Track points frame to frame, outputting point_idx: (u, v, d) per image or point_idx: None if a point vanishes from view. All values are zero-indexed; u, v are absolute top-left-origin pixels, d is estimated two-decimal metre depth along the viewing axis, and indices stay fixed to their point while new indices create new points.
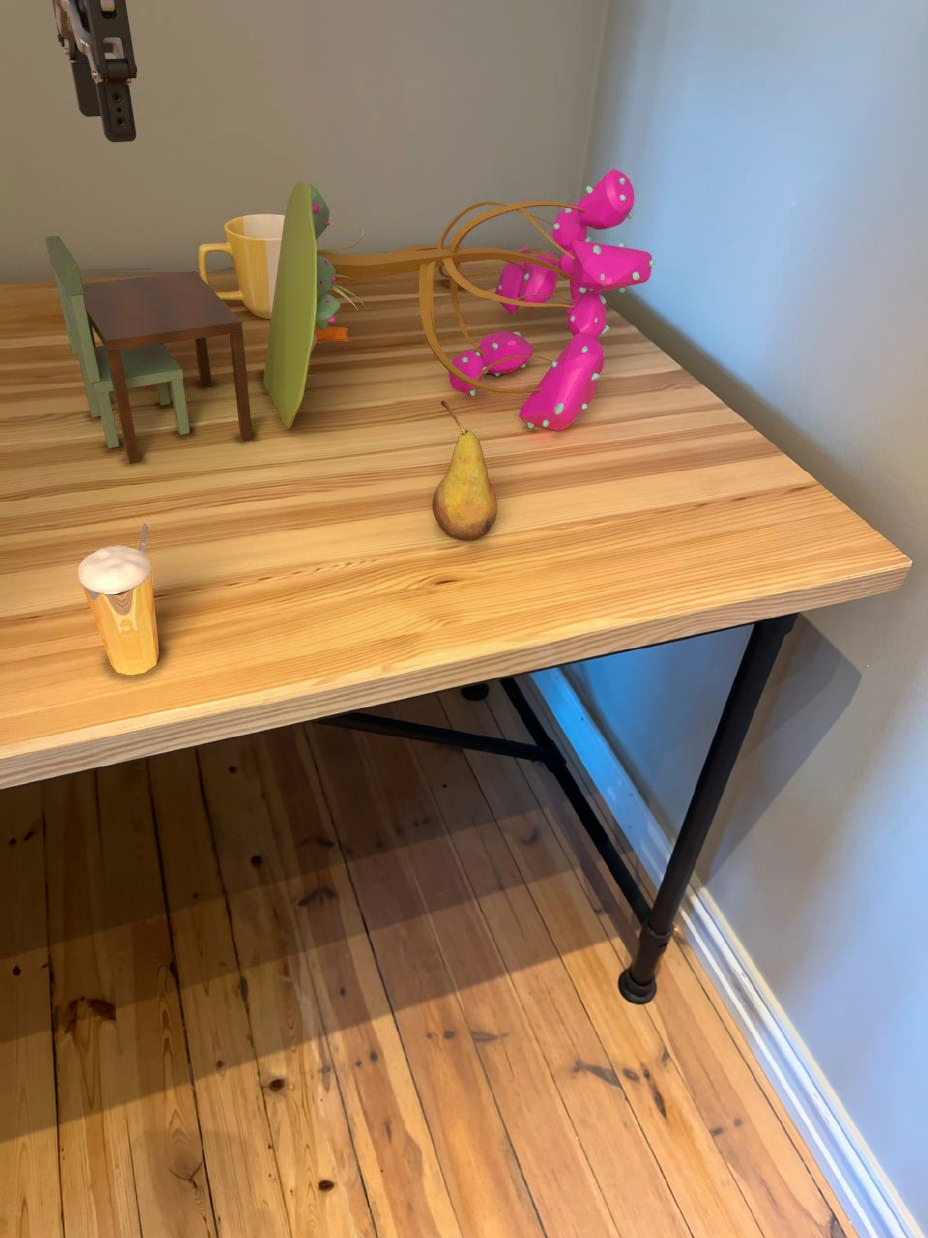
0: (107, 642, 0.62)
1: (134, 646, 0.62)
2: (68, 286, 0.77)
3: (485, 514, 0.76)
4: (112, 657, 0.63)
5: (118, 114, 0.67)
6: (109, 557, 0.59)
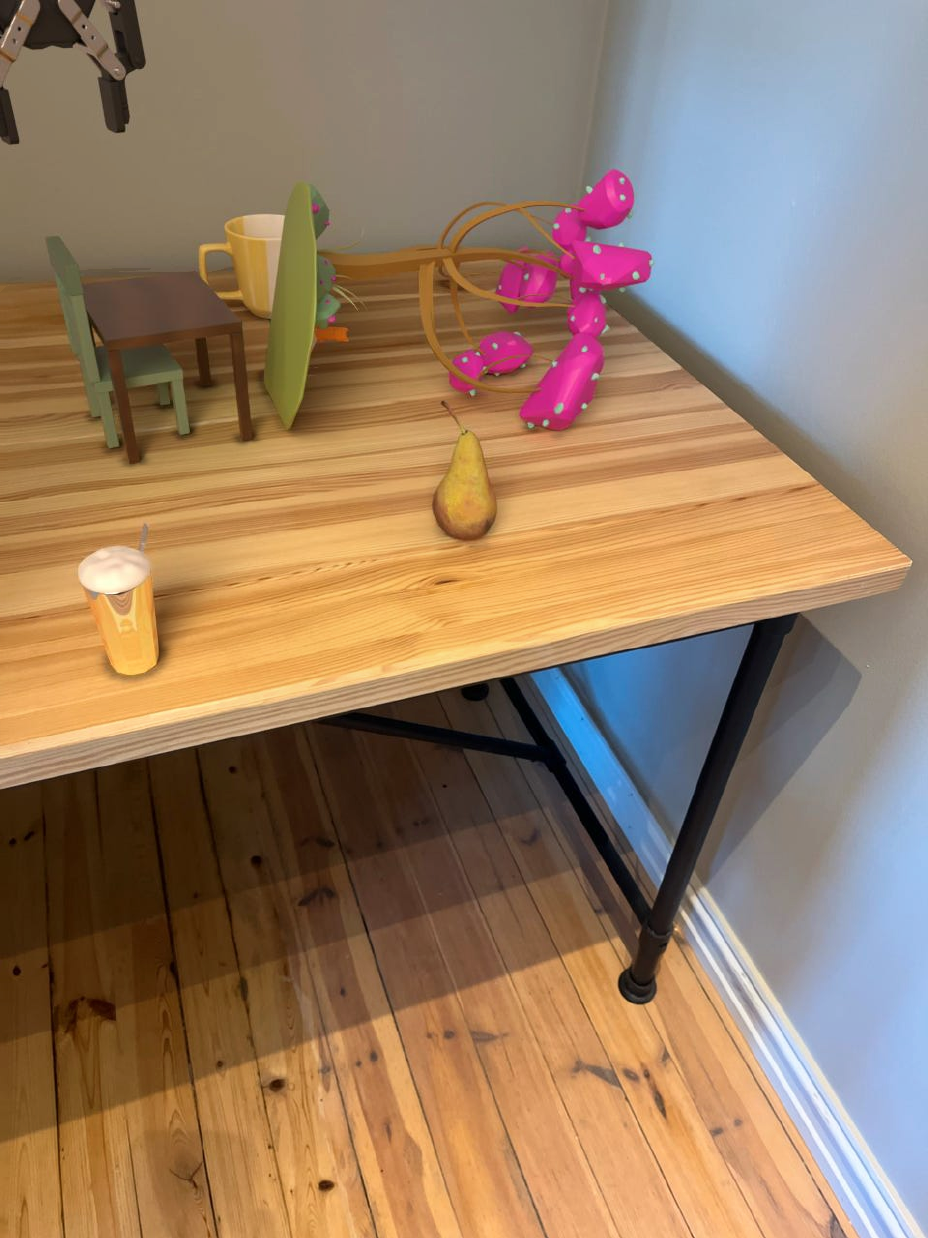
0: (107, 642, 0.62)
1: (134, 646, 0.62)
2: (68, 286, 0.77)
3: (485, 514, 0.76)
4: (112, 657, 0.63)
5: None
6: (109, 557, 0.59)
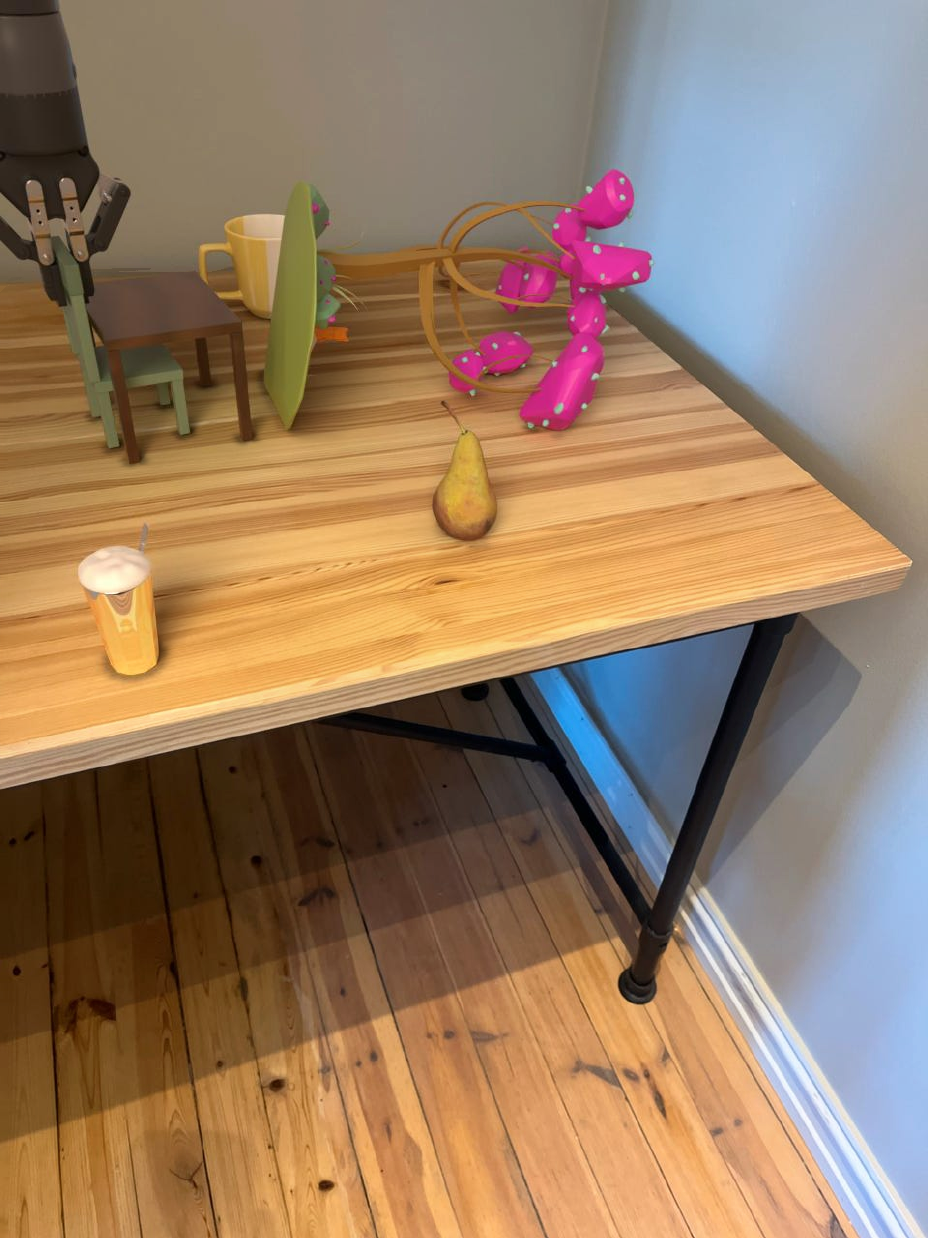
0: (107, 642, 0.62)
1: (134, 646, 0.62)
2: (68, 286, 0.77)
3: (485, 514, 0.76)
4: (112, 657, 0.63)
5: (43, 282, 0.79)
6: (109, 557, 0.59)
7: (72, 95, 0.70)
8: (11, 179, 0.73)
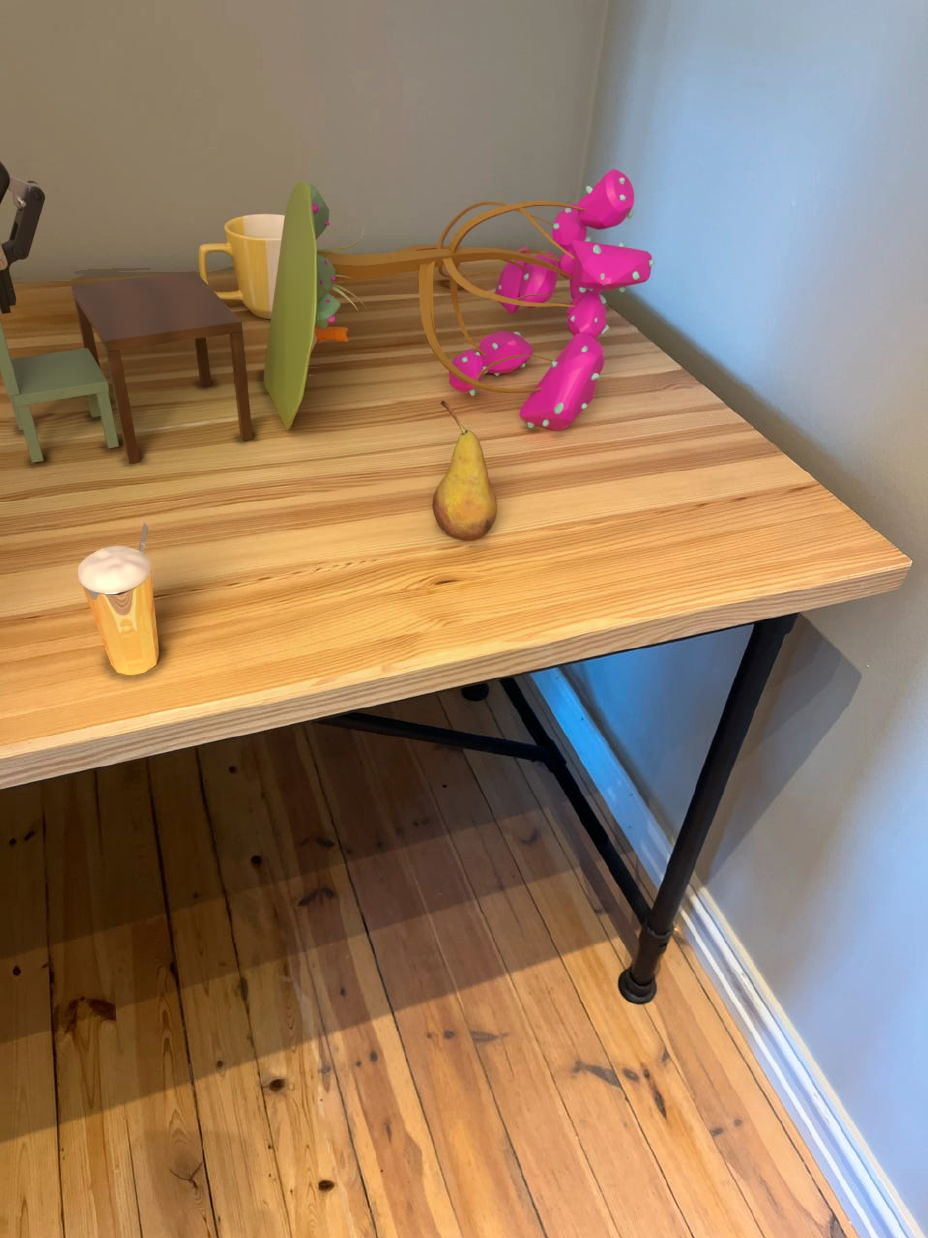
0: (107, 642, 0.62)
1: (134, 646, 0.62)
2: None
3: (485, 514, 0.76)
4: (112, 657, 0.63)
5: None
6: (109, 557, 0.59)
7: None
8: None
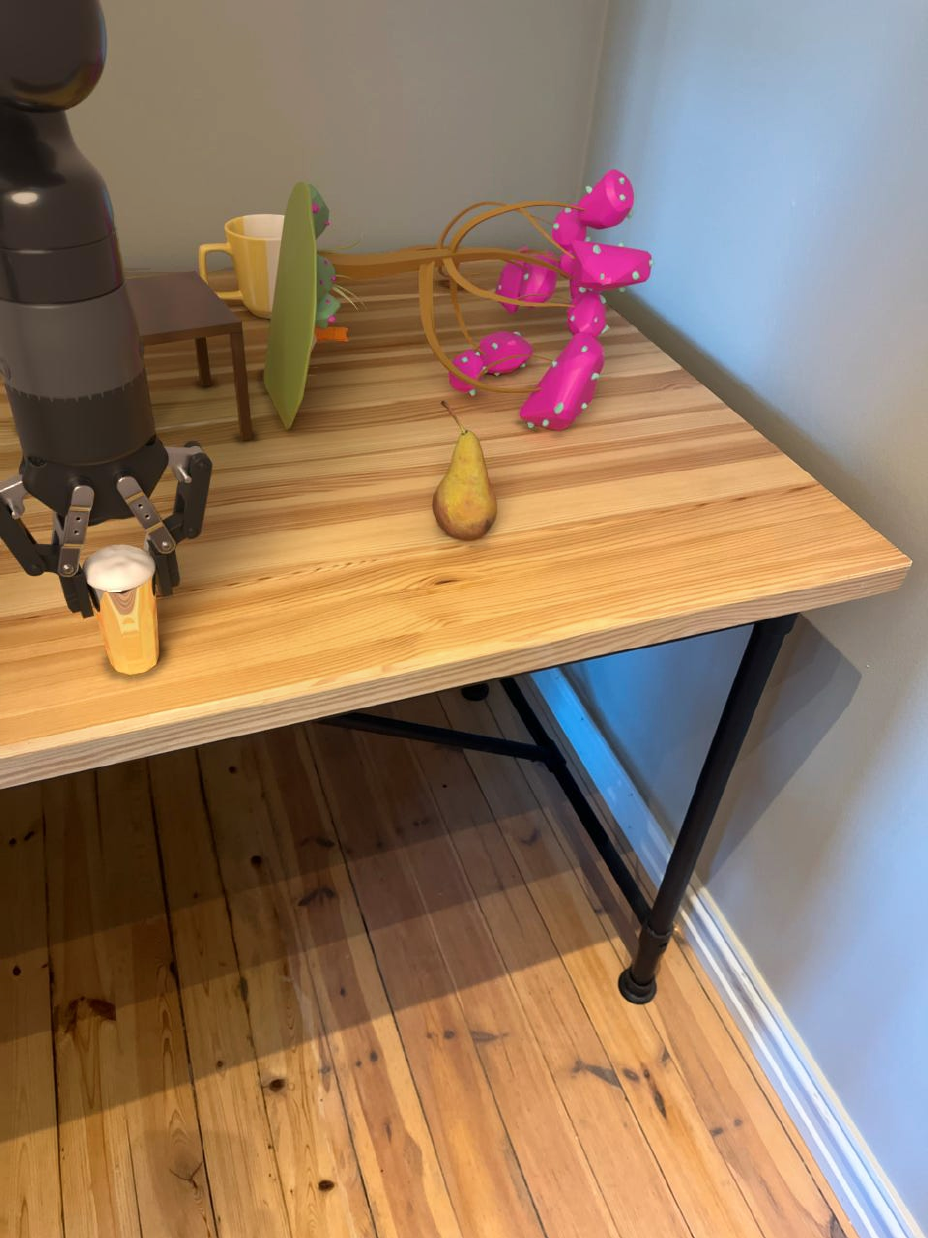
0: (108, 640, 0.62)
1: (135, 645, 0.62)
2: None
3: (485, 514, 0.76)
4: (112, 656, 0.63)
5: (62, 590, 0.59)
6: (113, 555, 0.59)
7: (139, 383, 0.51)
8: (53, 485, 0.54)
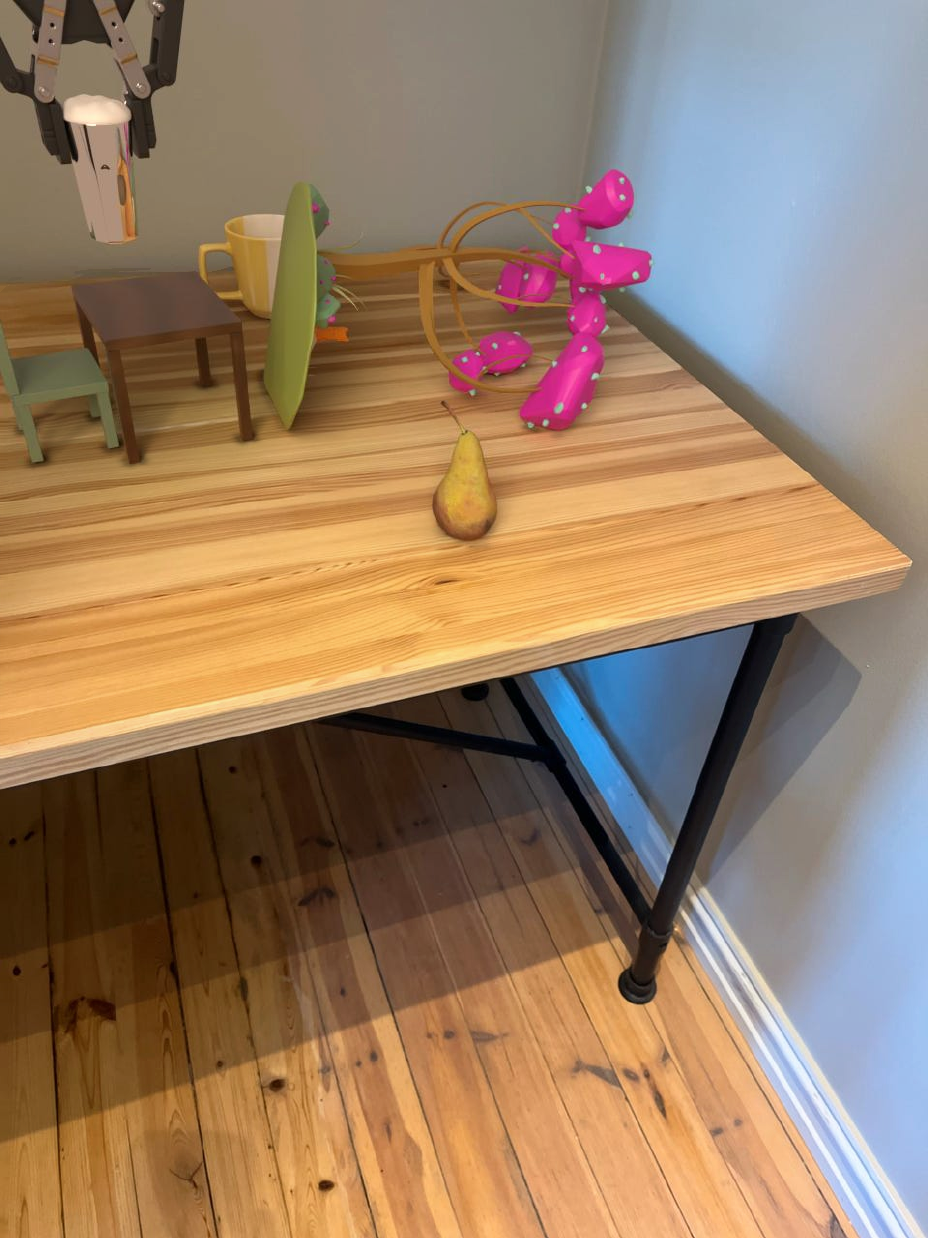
0: (87, 198, 0.63)
1: (113, 204, 0.64)
2: None
3: (485, 514, 0.76)
4: (92, 219, 0.64)
5: (40, 130, 0.61)
6: (90, 96, 0.61)
7: None
8: None
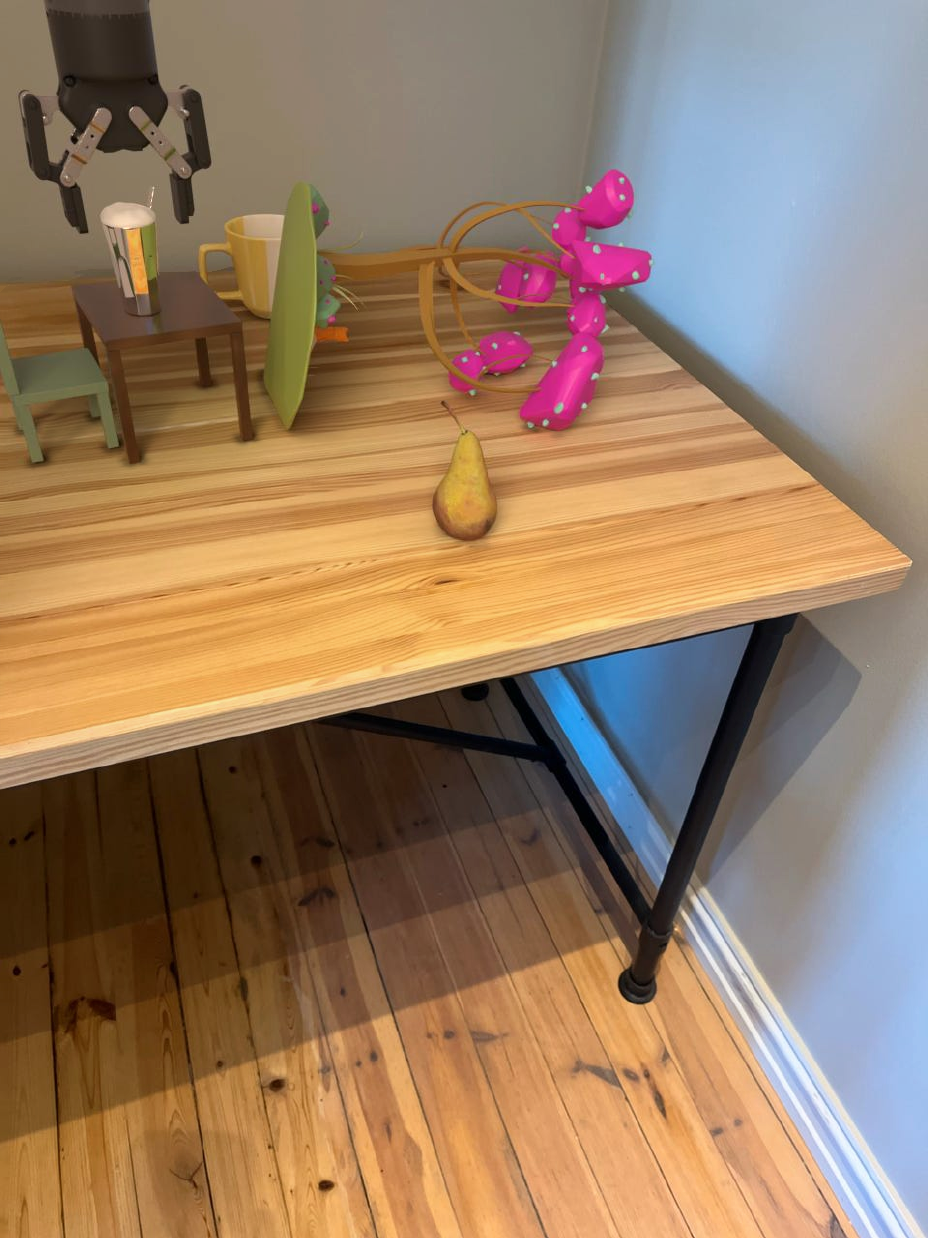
0: (122, 281, 0.80)
1: (143, 285, 0.81)
2: None
3: (485, 514, 0.76)
4: (126, 297, 0.81)
5: (64, 207, 0.76)
6: (123, 204, 0.78)
7: (145, 18, 0.69)
8: (81, 106, 0.71)
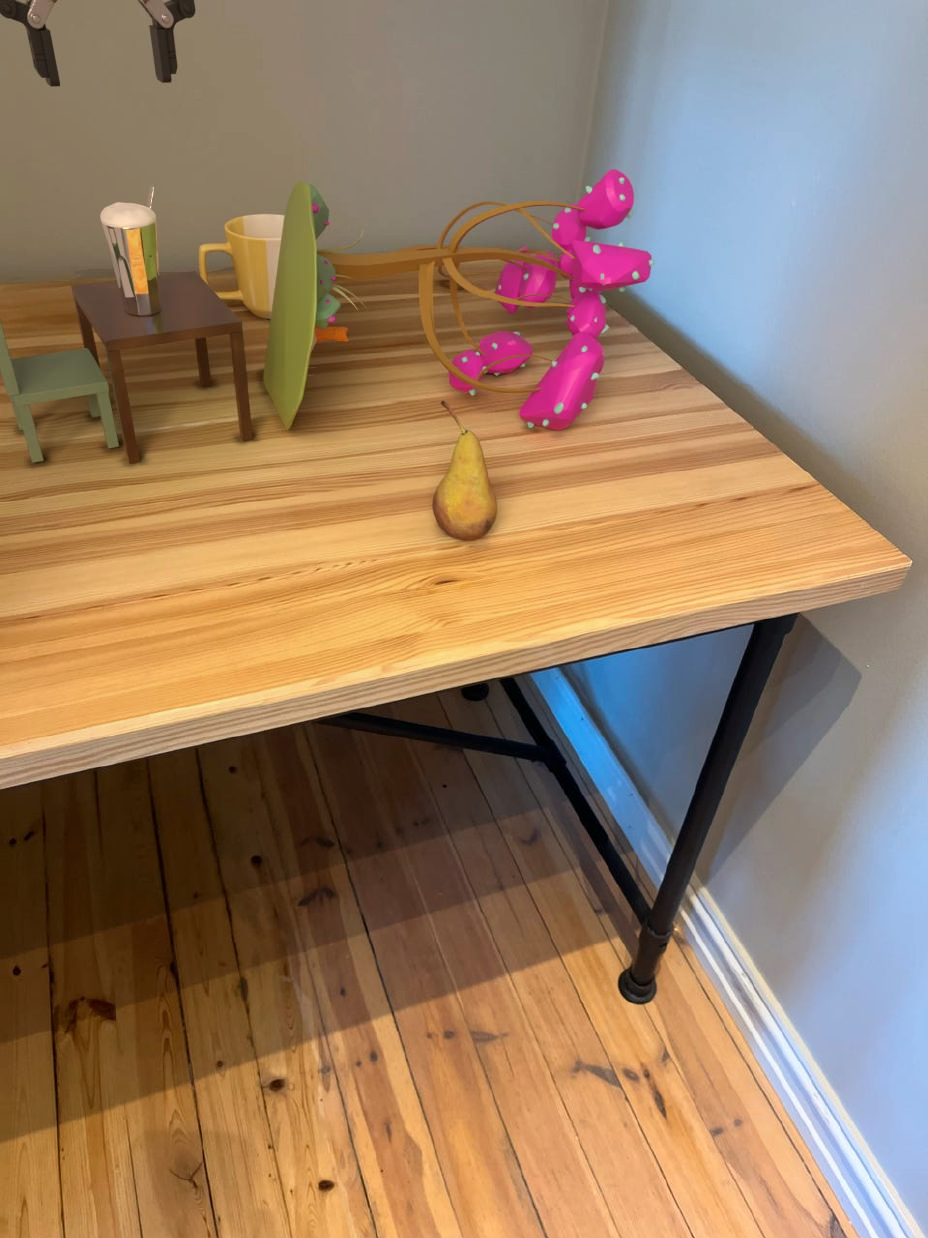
0: (122, 281, 0.80)
1: (143, 285, 0.81)
2: None
3: (485, 514, 0.76)
4: (126, 297, 0.81)
5: (32, 54, 0.69)
6: (123, 204, 0.78)
7: None
8: None
